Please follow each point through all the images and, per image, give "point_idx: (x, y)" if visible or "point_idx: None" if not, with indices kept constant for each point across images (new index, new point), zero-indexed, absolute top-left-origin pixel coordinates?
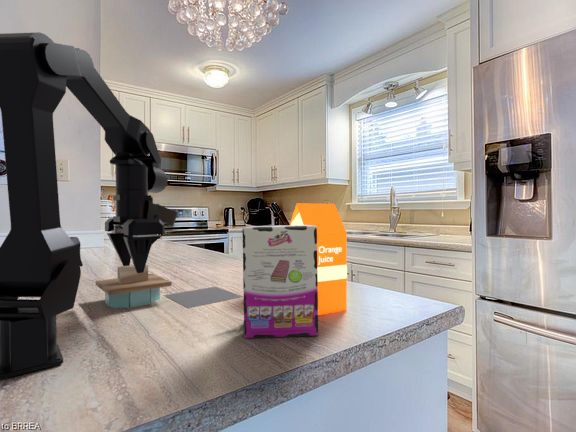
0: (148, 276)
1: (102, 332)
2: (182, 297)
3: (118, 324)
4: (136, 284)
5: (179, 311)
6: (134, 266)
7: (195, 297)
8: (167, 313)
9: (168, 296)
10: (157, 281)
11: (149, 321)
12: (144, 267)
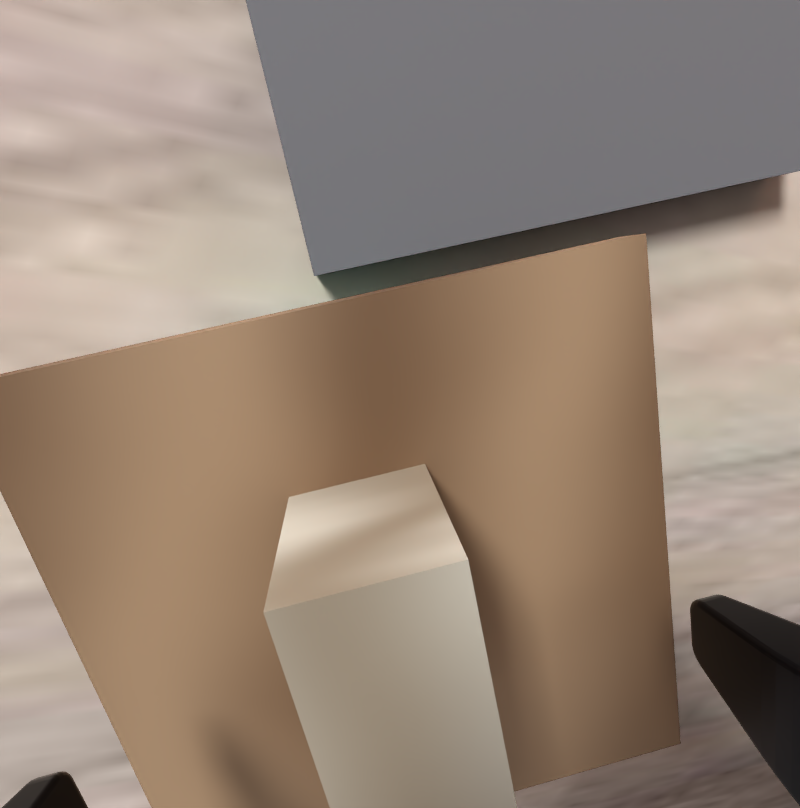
0: (162, 448)
1: (772, 612)
2: (480, 130)
3: (705, 558)
4: (568, 571)
5: (684, 220)
6: (774, 755)
7: (543, 10)
8: (678, 303)
9: (380, 243)
10: (539, 378)
11: (758, 417)
12: (788, 625)
